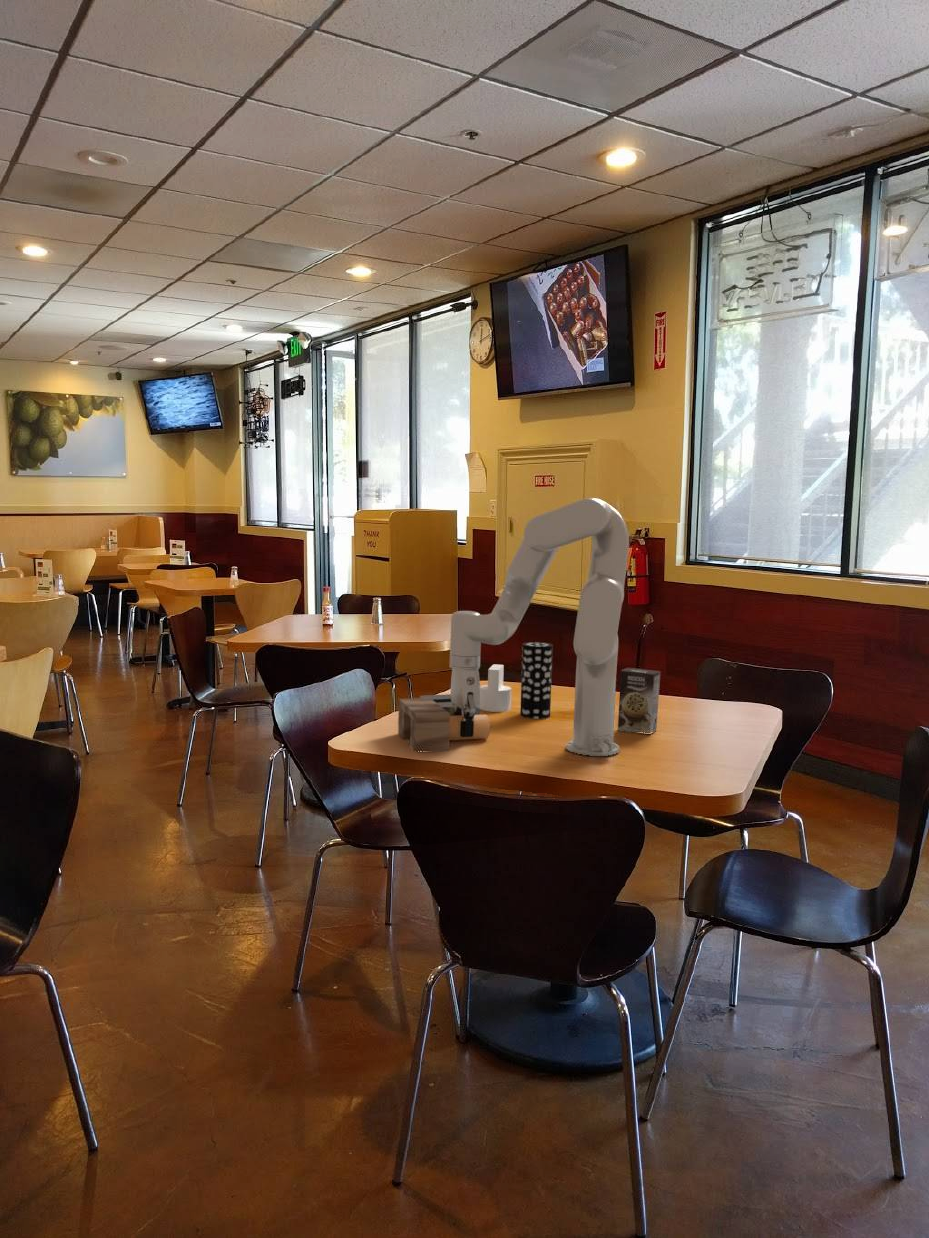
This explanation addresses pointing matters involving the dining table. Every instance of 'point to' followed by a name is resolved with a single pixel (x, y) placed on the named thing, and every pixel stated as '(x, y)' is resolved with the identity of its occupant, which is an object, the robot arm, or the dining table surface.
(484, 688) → the base with upright slab
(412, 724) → the beam
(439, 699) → the v block
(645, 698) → the coffee box
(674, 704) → the dining table surface
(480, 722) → the tan cylinder
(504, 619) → the robot arm
